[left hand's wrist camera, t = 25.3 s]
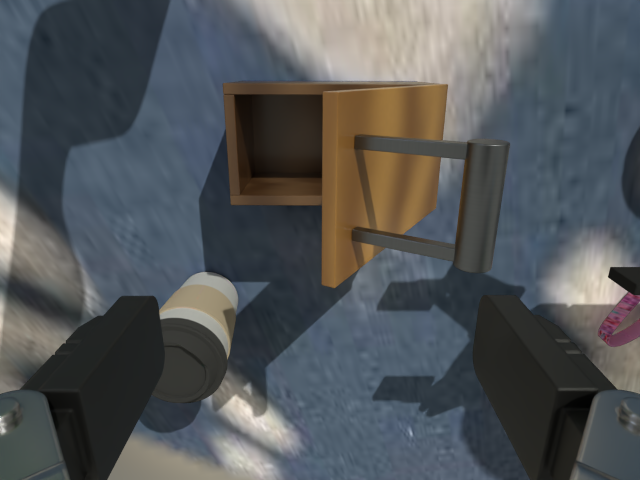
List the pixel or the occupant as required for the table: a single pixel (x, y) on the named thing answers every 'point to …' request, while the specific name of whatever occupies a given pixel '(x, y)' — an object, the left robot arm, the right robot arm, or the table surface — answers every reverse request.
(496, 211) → the lid
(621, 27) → the table surface
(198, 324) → the coffee cup
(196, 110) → the table surface
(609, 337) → the headband
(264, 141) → the chest
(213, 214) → the table surface
